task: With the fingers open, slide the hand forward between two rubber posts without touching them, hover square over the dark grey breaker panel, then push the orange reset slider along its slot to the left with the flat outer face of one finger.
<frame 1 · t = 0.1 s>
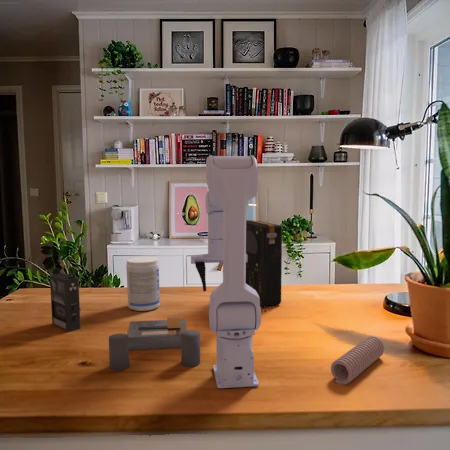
hand: (219, 289, 116), 10 cm above the table, fingers open, 7 cm apart
post right: (190, 362, 95), on the table
post left: (119, 366, 94), on the table
black upright block: (259, 301, 140), on the table
supplement tub: (144, 307, 134), on the table
coil: (358, 370, 92), on the table
breaker panel: (157, 339, 108), on the table
geiger counter: (68, 326, 118), on the table
reset slider: (173, 321, 108), point 5 cm above the table, slide at 0.0 cm
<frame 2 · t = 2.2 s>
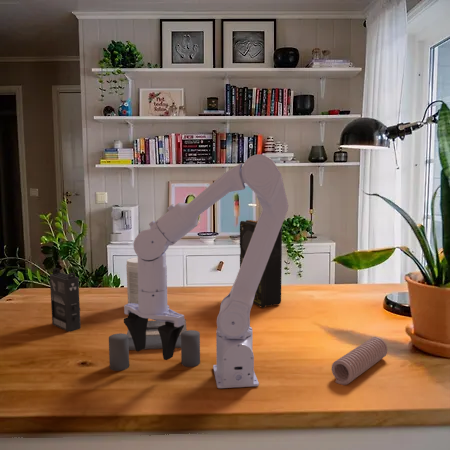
hand: (154, 353, 90), 4 cm above the table, fingers open, 7 cm apart
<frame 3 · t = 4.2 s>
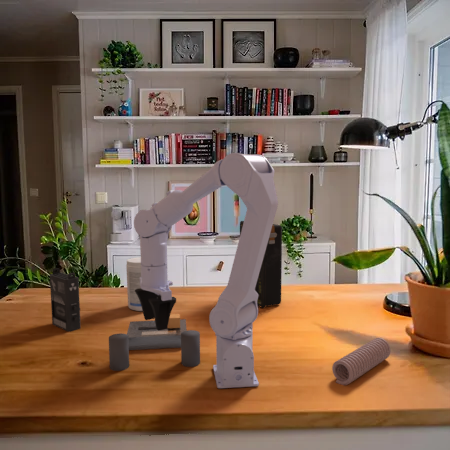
hand: (155, 324, 99), 7 cm above the table, fingers open, 7 cm apart
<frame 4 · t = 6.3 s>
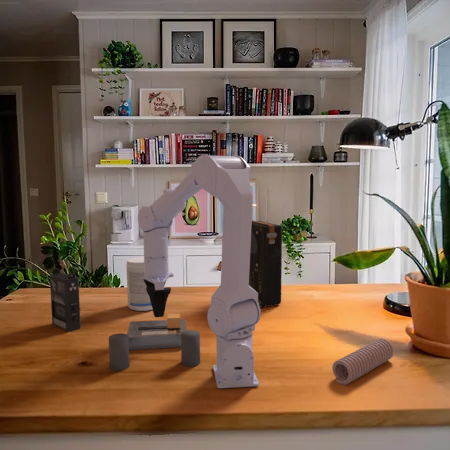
hand: (157, 311, 107), 7 cm above the table, fingers open, 7 cm apart
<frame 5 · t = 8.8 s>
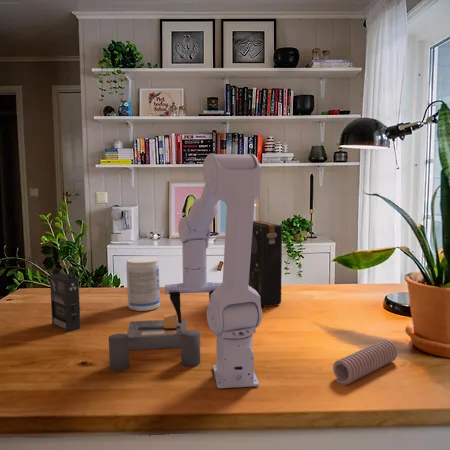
hand: (195, 321, 109), 4 cm above the table, fingers open, 7 cm apart
reset slider: (170, 321, 108), point 5 cm above the table, slide at 0.8 cm, touching gripper
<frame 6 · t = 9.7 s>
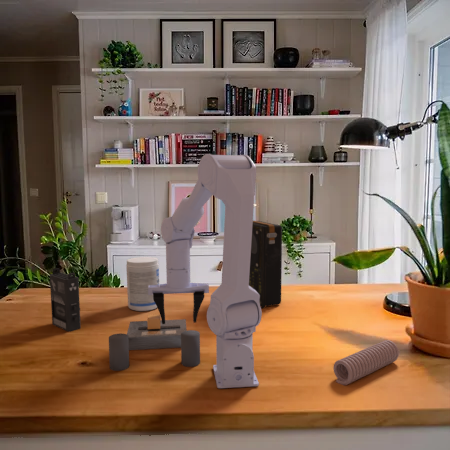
hand: (179, 322, 108), 4 cm above the table, fingers open, 7 cm apart
reset slider: (154, 321, 108), point 5 cm above the table, slide at 4.8 cm, touching gripper
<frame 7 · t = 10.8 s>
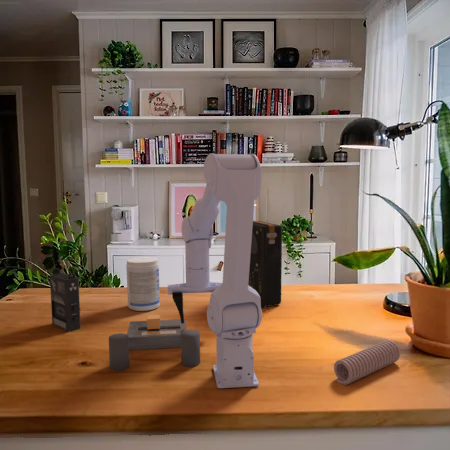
hand: (198, 321, 109), 4 cm above the table, fingers open, 7 cm apart
reset slider: (153, 322, 108), point 5 cm above the table, slide at 4.9 cm
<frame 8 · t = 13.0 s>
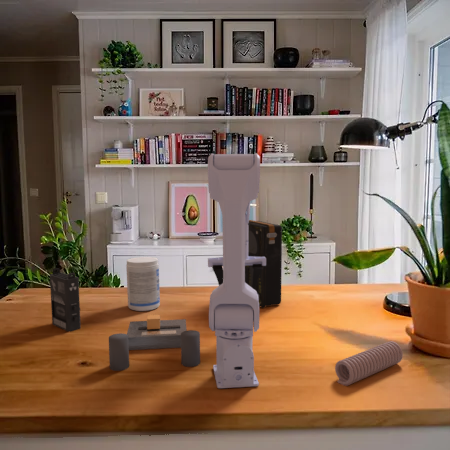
hand: (237, 293, 112), 10 cm above the table, fingers open, 7 cm apart
at the end: reset slider slide at 4.9 cm; post left moved 0.0 cm from its start; post right moved 0.0 cm from its start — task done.
